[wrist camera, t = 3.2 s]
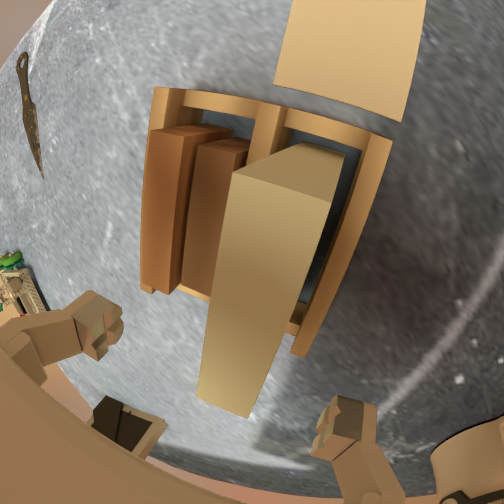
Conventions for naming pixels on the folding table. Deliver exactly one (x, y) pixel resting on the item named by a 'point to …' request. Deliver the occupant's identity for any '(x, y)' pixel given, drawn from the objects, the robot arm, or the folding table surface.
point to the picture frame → (127, 426)
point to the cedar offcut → (170, 199)
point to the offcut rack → (270, 142)
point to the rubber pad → (353, 51)
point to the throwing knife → (30, 107)
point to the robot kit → (18, 287)
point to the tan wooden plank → (263, 267)
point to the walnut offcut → (209, 208)
